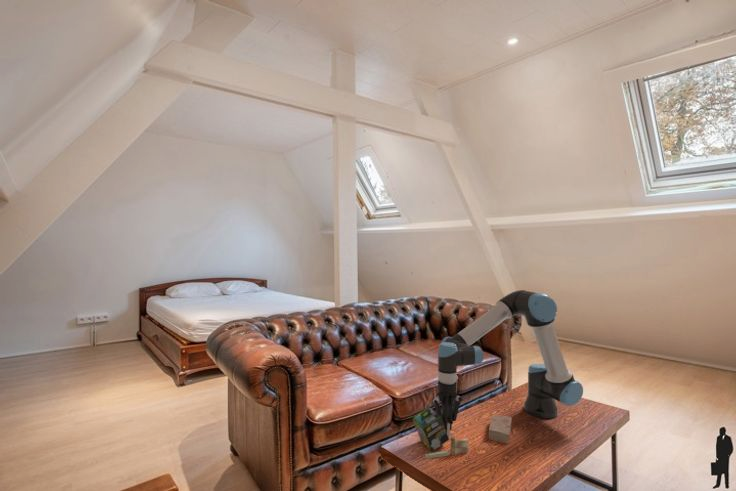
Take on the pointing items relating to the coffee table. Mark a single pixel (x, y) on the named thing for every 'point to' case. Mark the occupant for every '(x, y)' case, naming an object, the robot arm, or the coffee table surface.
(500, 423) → the brick
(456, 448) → the chute
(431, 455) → the kerb
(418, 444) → the coffee table surface
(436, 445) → the chalk box
